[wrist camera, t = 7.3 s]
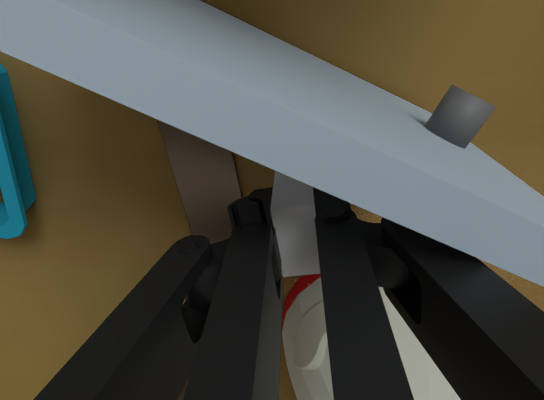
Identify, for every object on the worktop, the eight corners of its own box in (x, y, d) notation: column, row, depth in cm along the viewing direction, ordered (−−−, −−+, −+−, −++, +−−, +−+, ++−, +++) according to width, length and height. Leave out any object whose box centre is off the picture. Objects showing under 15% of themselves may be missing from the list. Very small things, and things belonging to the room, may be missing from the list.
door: (447, 85, 19) (720, 214, 7) (417, 131, 20) (602, 312, 8) (183, -48, 17) (-111, -208, 5) (167, 12, 18) (-100, 8, 6)
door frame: (258, 270, 26) (211, 570, 12) (205, 275, 27) (102, 567, 13) (175, -107, 17) (-555, -823, 2) (95, -88, 17) (-894, -584, 3)
